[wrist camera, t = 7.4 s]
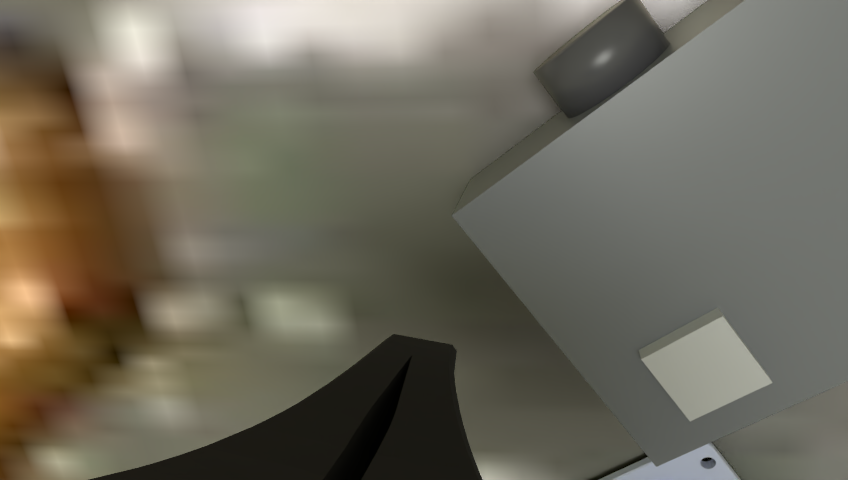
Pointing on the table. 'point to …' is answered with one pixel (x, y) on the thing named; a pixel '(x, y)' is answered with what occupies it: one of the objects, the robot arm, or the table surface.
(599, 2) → the table surface
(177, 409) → the table surface
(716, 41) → the box
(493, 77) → the table surface
